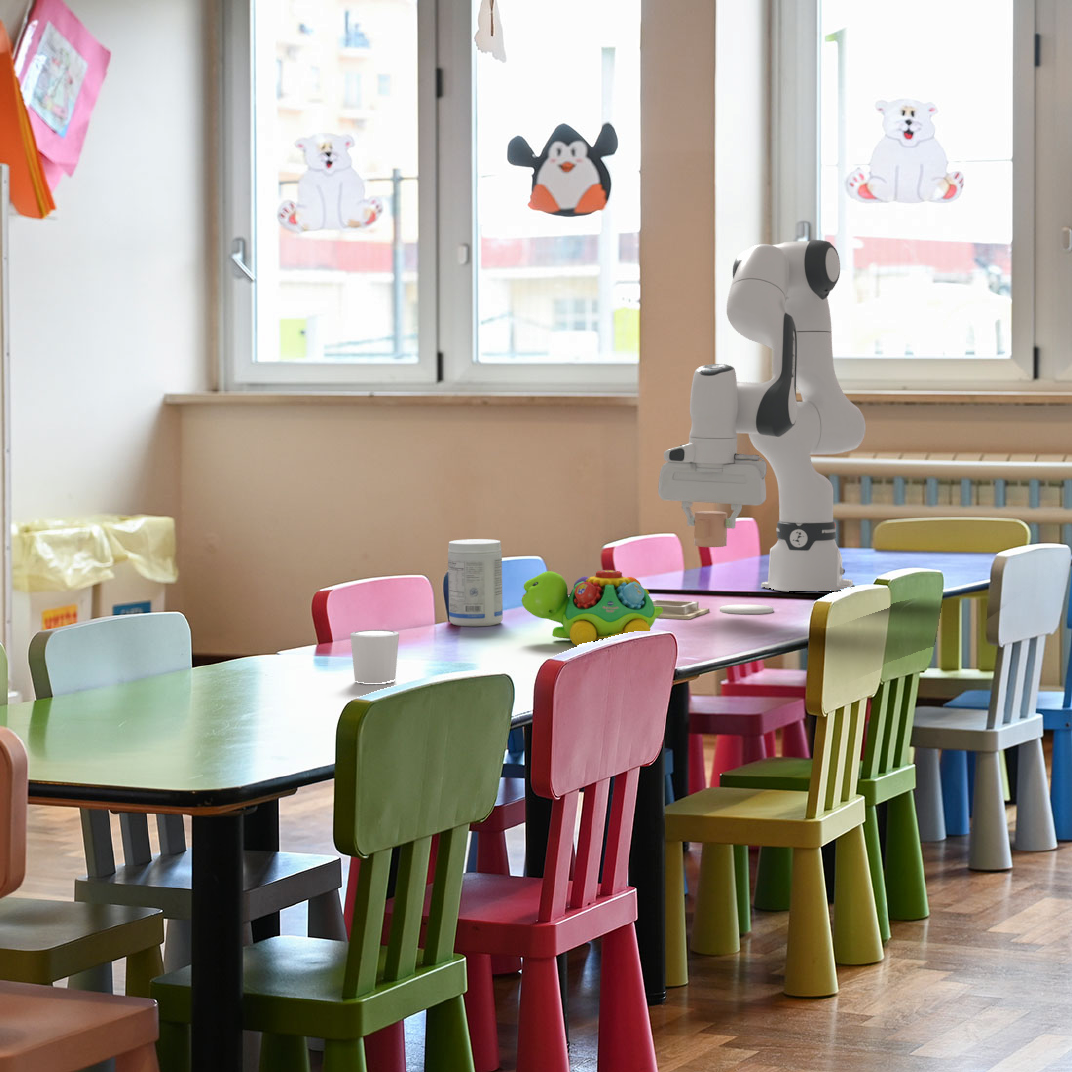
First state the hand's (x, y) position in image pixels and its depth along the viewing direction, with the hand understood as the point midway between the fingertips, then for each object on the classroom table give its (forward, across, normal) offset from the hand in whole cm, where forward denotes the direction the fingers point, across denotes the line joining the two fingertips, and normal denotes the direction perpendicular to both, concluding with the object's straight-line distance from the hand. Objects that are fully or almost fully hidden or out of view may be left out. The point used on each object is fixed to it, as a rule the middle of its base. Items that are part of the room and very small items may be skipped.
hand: (711, 527), depth 320 cm
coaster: (+16, -6, -3) cm, 17 cm away
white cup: (+13, +16, +95) cm, 98 cm away
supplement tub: (+16, +32, +34) cm, 49 cm away
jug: (+3, 0, +2) cm, 4 cm away
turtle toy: (+15, +4, +45) cm, 48 cm away
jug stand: (+16, +6, +7) cm, 18 cm away
